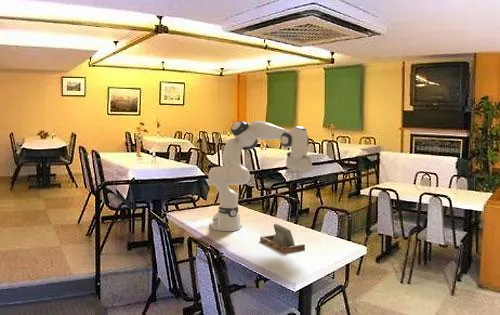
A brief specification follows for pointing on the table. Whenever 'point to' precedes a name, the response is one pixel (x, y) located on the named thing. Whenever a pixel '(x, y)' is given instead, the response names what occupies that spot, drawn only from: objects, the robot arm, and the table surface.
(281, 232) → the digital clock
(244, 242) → the table surface
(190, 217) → the table surface
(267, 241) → the frame
